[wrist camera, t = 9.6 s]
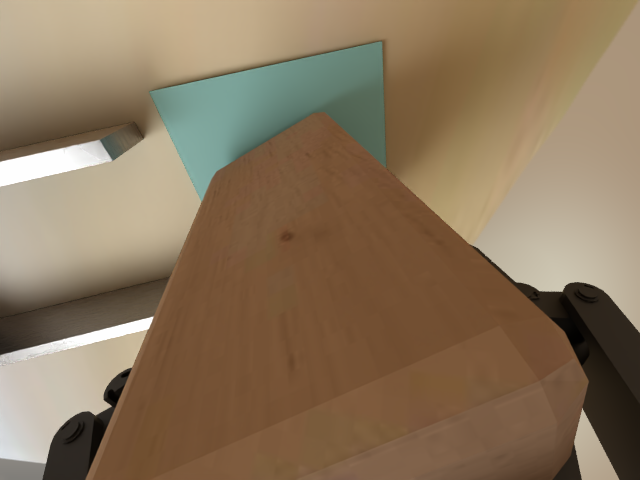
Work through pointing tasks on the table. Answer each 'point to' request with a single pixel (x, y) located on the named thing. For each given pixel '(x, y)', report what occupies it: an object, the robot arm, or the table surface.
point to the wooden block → (338, 338)
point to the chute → (88, 313)
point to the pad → (274, 107)
